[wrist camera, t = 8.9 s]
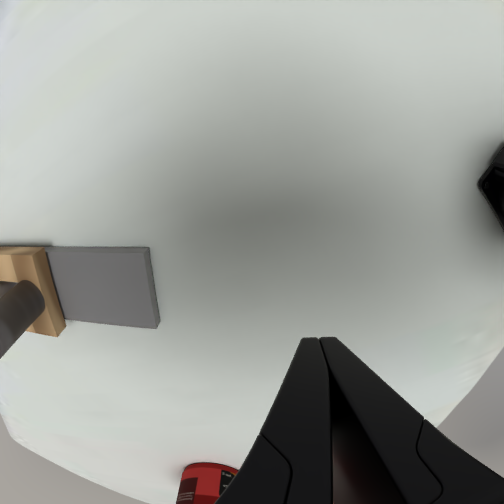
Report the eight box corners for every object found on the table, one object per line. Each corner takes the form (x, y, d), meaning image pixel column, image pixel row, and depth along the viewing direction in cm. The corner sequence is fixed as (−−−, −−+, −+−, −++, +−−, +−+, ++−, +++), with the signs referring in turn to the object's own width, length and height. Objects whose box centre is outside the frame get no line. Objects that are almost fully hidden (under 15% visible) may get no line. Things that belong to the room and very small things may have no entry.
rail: (148, 247, 21) (104, 300, 14) (160, 321, 23) (129, 385, 17) (-1, 246, 21) (-53, 281, 15) (16, 305, 24) (-26, 346, 17)
